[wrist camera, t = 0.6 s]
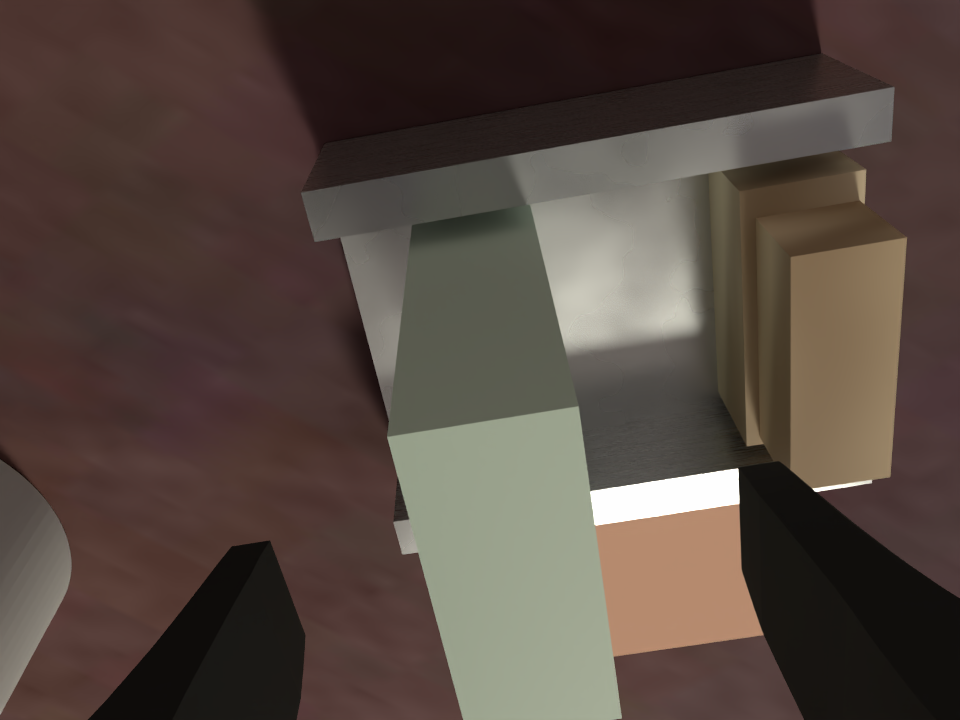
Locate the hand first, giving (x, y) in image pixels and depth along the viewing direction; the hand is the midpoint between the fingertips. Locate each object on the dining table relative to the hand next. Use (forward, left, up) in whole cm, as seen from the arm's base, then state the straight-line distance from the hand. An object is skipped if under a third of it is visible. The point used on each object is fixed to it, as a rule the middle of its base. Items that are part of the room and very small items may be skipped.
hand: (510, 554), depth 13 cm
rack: (-3, 0, -9) cm, 10 cm away
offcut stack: (-6, 0, -8) cm, 10 cm away
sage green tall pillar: (0, 0, -8) cm, 8 cm away
